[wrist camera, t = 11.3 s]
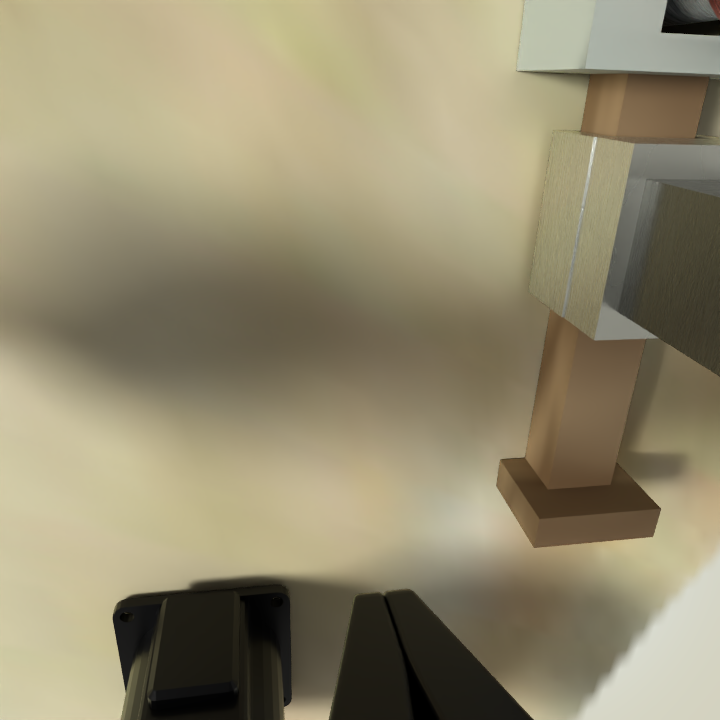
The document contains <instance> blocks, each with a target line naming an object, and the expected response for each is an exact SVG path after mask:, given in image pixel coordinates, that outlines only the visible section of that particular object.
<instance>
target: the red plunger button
mask: <svg viewBox="0 0 720 720" xmlns="http://www.w3.org/2000/svg"><path fill="white" fill-rule="evenodd" d="M713 20H720V0H667V5H666V10H665V15H664V19H663V24H662V27H666V26H674V25H682V24H690V23H698V22H706V21H713Z"/></svg>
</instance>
